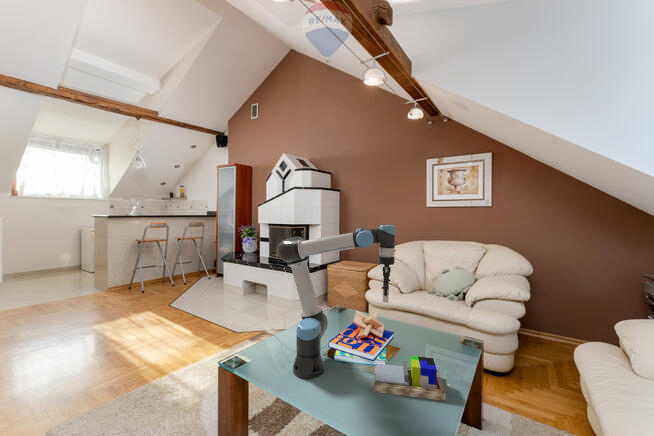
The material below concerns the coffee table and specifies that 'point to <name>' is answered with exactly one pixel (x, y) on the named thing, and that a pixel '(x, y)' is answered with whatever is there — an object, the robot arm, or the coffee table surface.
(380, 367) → the lid
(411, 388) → the board
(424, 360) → the puzzle toy
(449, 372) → the coffee table surface
